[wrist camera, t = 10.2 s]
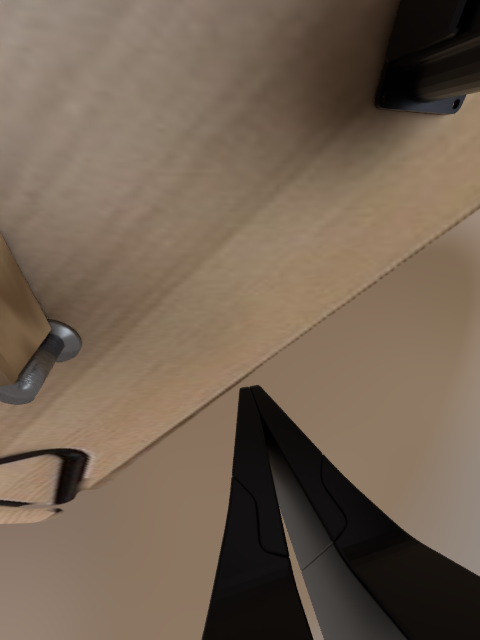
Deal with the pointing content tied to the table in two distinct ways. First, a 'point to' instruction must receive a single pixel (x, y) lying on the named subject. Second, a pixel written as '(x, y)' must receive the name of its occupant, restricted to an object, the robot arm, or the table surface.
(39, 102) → the table surface
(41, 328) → the tan wooden flat block
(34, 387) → the hinge post
